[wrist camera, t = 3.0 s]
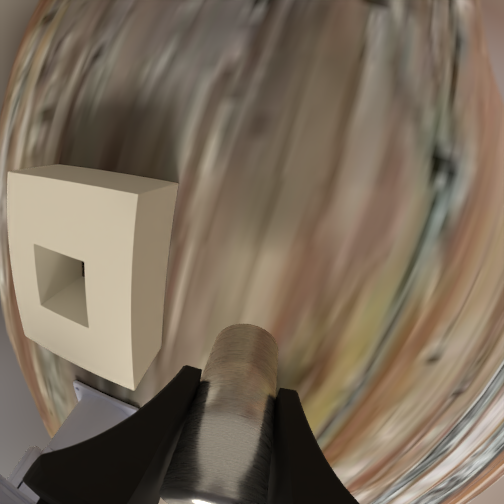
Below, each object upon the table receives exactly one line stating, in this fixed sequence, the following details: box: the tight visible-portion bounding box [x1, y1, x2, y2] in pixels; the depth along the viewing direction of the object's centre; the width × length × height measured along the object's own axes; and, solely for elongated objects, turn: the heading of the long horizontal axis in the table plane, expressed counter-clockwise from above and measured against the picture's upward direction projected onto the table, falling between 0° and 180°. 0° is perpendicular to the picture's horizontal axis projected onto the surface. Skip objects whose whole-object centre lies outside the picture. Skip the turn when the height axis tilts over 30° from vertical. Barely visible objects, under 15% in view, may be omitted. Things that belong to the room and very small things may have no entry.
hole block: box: [7, 164, 179, 391], centre depth 16 cm, size 12×10×5 cm
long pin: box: [159, 324, 278, 504], centre depth 9 cm, size 3×3×8 cm
